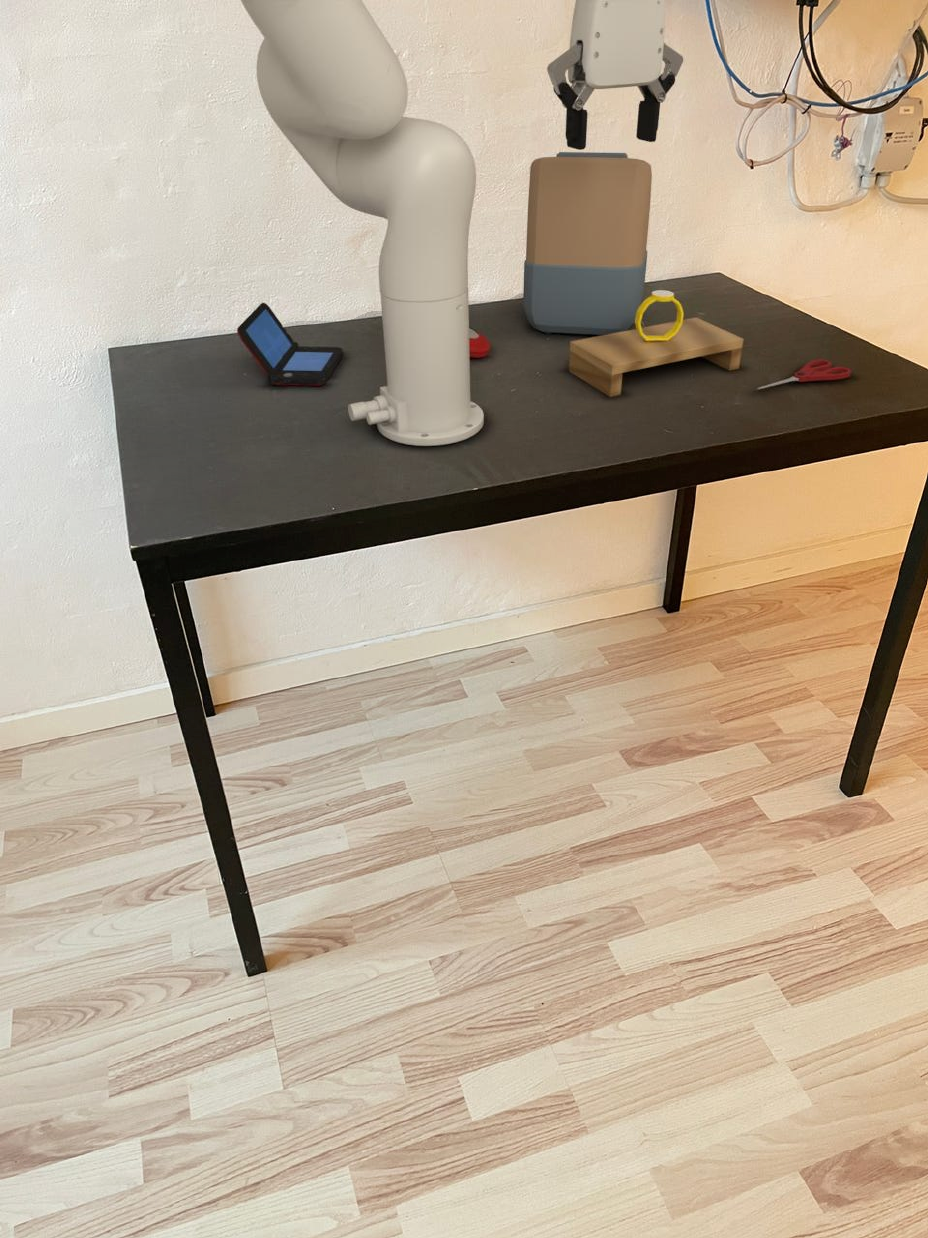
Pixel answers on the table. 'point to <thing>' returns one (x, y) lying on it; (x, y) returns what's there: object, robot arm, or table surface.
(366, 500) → the table surface
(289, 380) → the handheld game console
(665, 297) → the watch
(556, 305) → the brown blue rounded box
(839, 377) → the scissors
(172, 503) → the table surface
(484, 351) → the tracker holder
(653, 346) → the desk stand
